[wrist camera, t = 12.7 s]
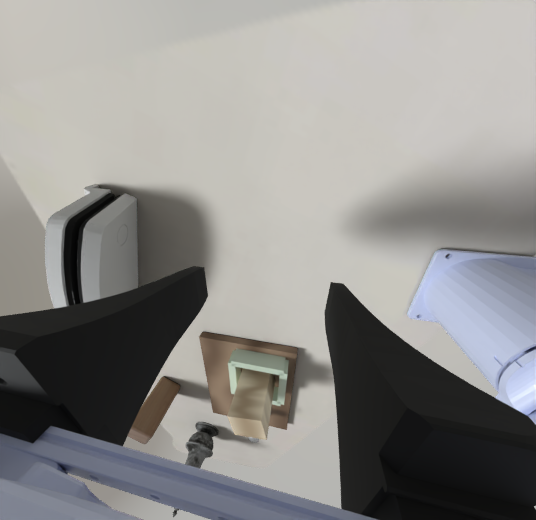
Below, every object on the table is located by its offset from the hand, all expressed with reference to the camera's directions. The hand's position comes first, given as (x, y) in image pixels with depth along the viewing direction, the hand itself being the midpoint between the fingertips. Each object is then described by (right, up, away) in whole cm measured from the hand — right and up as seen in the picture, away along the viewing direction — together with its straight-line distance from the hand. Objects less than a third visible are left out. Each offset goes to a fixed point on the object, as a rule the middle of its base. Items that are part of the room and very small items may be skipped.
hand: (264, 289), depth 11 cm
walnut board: (-3, -19, +21) cm, 28 cm away
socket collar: (-1, -15, +17) cm, 23 cm away
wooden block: (-19, -22, +26) cm, 39 cm away
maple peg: (-1, -15, +17) cm, 23 cm away
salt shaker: (-13, -35, +31) cm, 49 cm away
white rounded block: (-18, +2, +14) cm, 23 cm away
